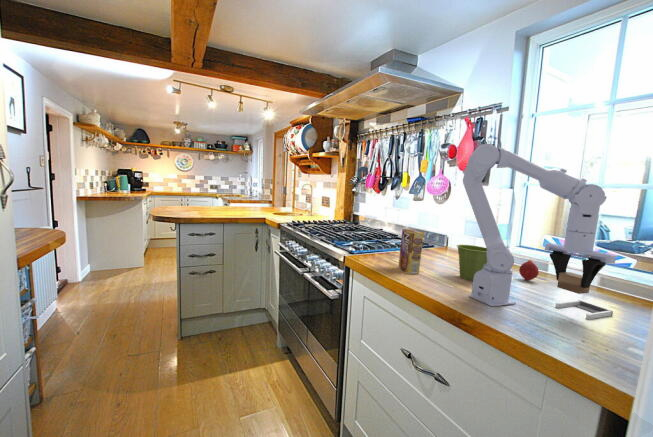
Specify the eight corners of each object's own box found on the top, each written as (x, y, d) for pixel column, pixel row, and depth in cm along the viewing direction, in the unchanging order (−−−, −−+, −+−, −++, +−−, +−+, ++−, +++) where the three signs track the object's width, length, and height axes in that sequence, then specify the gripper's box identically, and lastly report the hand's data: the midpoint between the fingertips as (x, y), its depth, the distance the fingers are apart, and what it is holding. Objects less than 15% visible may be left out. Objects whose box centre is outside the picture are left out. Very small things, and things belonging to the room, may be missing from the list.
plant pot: (496, 285, 99) (501, 252, 98) (461, 282, 99) (465, 250, 98) (479, 274, 111) (483, 245, 110) (447, 272, 111) (451, 243, 110)
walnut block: (578, 293, 73) (581, 278, 73) (557, 287, 78) (559, 272, 78) (588, 292, 75) (591, 277, 74) (567, 286, 79) (569, 272, 79)
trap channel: (588, 319, 75) (589, 315, 75) (555, 307, 82) (556, 303, 82) (612, 315, 79) (612, 311, 79) (578, 304, 86) (579, 300, 86)
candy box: (420, 274, 106) (424, 232, 104) (409, 274, 105) (413, 232, 103) (408, 267, 114) (411, 228, 113) (397, 267, 113) (401, 228, 112)
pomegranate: (540, 284, 104) (543, 262, 103) (522, 282, 105) (525, 260, 104) (532, 279, 110) (535, 258, 109) (515, 277, 111) (518, 256, 110)
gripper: (626, 237, 69) (616, 292, 71) (559, 227, 83) (552, 274, 84) (609, 236, 67) (599, 294, 68) (542, 227, 80) (535, 275, 82)
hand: (572, 283), depth 76 cm, fingers closed on walnut block, 5 cm apart
